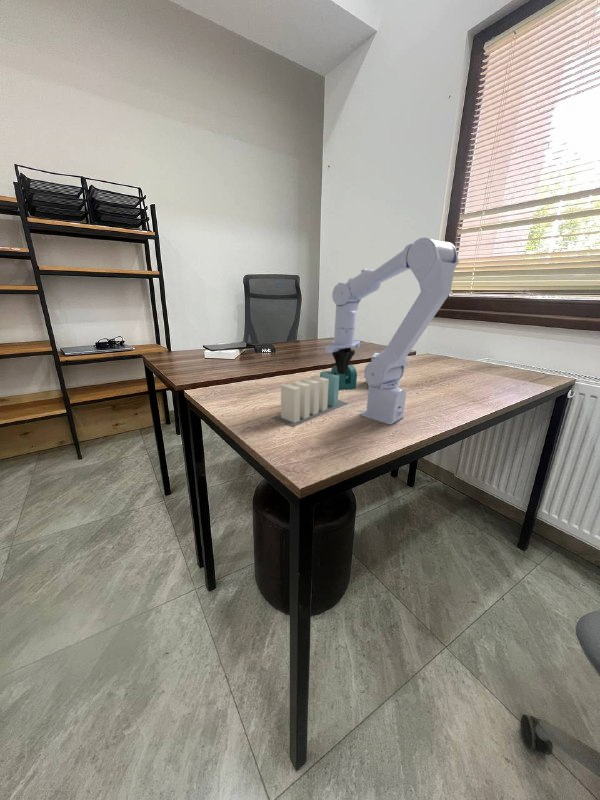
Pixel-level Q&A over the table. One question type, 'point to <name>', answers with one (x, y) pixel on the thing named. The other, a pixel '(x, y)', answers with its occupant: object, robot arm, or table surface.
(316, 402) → the tile
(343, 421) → the table surface
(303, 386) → the tile
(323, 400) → the tile
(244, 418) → the table surface
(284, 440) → the table surface
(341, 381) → the bracket
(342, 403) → the mat
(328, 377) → the tile
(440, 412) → the table surface
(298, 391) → the tile
